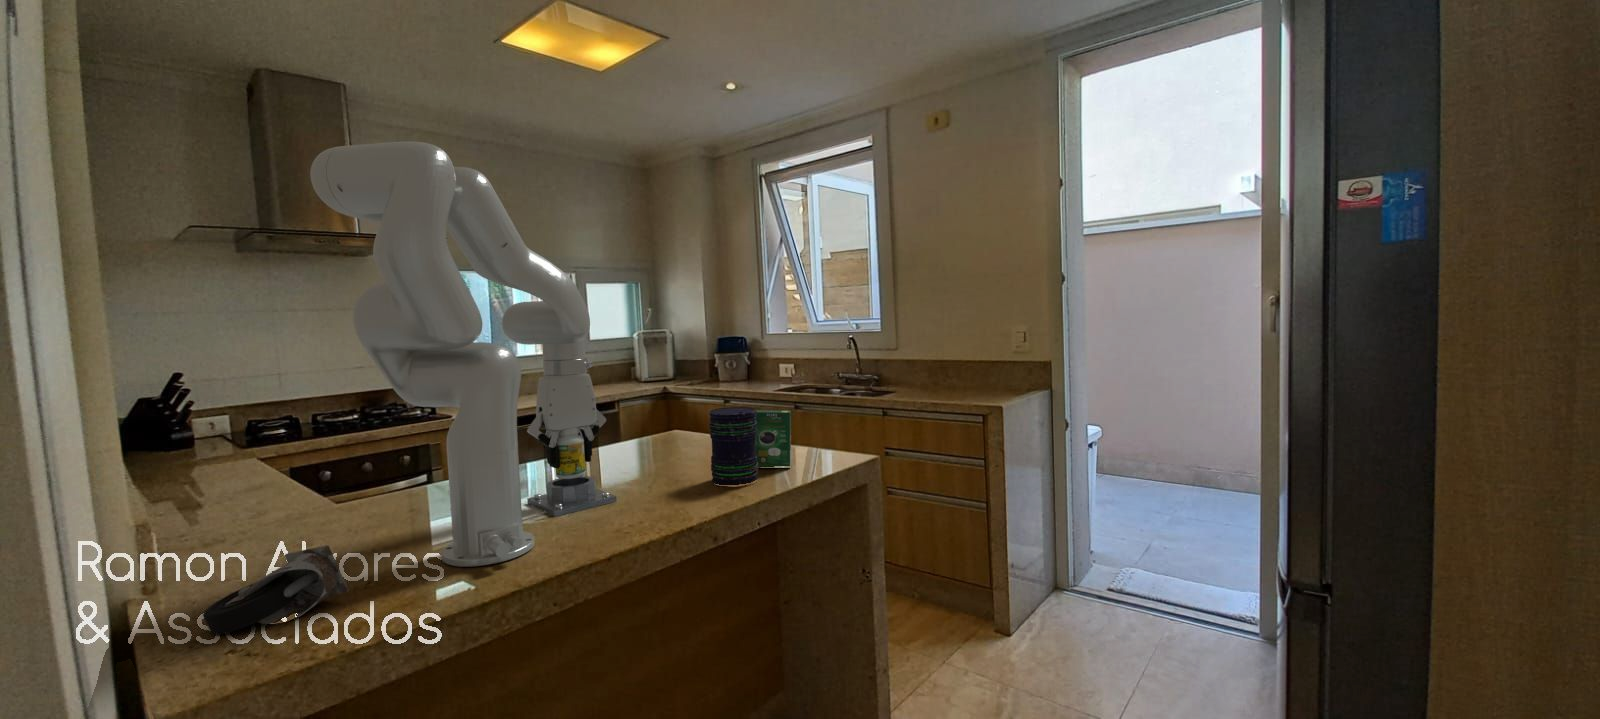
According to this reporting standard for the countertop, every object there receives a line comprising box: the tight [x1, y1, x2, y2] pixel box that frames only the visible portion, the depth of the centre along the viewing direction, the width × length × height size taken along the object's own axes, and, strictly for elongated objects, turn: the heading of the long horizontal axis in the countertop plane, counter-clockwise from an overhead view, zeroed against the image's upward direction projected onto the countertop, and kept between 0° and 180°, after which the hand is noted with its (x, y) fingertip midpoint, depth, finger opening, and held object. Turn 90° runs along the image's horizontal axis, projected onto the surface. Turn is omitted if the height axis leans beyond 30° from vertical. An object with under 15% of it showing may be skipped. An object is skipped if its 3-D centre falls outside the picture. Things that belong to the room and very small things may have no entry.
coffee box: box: [755, 409, 792, 467], centre depth 143 cm, size 8×3×13 cm, turn 85°
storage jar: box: [709, 406, 759, 485], centre depth 133 cm, size 10×10×15 cm
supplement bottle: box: [555, 428, 587, 479], centre depth 120 cm, size 5×5×10 cm
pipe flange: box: [526, 475, 618, 518], centre depth 121 cm, size 12×12×4 cm
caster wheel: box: [202, 544, 349, 636], centre depth 76 cm, size 7×11×10 cm
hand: (570, 462), depth 120 cm, fingers closed on supplement bottle, 5 cm apart
